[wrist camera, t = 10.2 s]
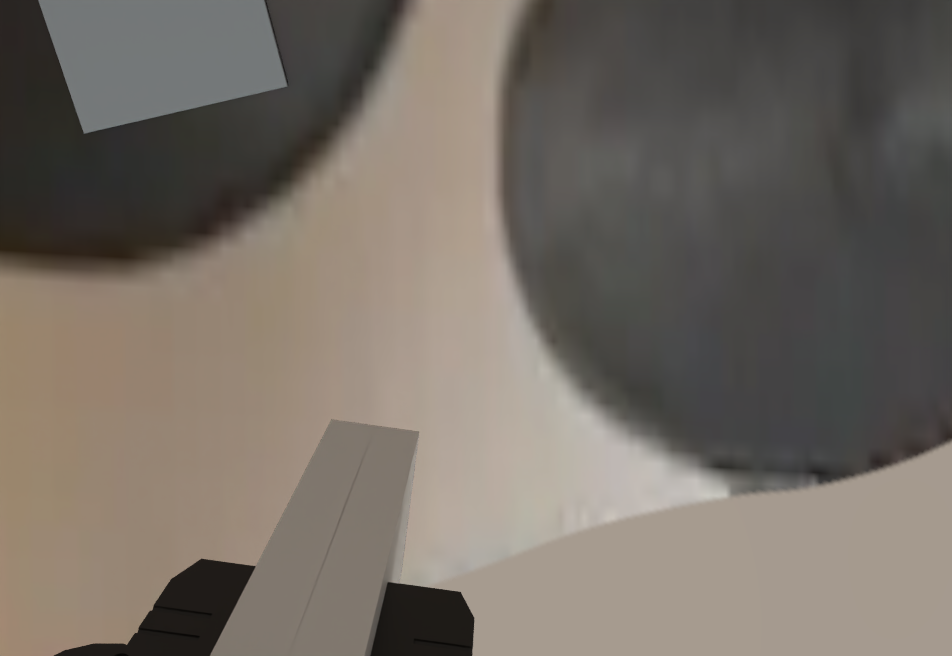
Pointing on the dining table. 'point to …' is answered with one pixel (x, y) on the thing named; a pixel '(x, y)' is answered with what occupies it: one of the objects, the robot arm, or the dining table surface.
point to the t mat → (161, 55)
